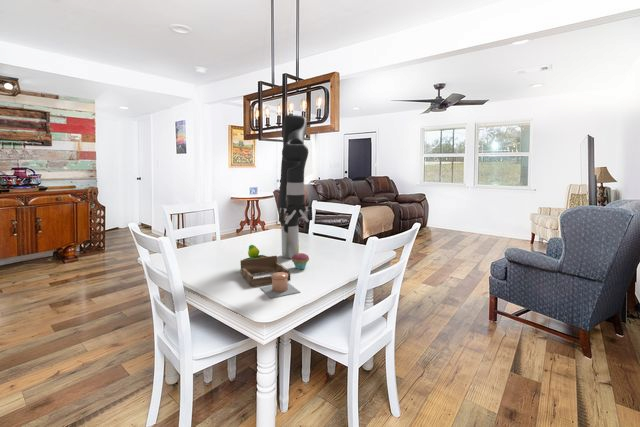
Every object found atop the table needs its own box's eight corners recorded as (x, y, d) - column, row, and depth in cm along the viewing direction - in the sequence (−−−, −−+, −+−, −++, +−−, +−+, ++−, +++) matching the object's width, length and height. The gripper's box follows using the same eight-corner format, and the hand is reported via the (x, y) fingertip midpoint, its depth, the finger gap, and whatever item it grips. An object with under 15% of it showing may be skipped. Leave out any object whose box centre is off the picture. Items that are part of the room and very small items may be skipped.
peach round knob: (269, 288, 134) (268, 273, 133) (284, 285, 137) (284, 271, 136) (275, 293, 128) (274, 278, 127) (291, 290, 131) (290, 275, 130)
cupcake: (288, 269, 160) (288, 244, 159) (296, 264, 168) (295, 241, 166) (305, 271, 157) (304, 246, 155) (312, 266, 165) (311, 242, 163)
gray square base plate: (260, 288, 135) (260, 287, 135) (288, 283, 140) (288, 282, 140) (270, 298, 124) (270, 297, 124) (300, 292, 130) (300, 291, 130)
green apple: (252, 272, 155) (251, 249, 154) (241, 269, 161) (240, 246, 160) (271, 267, 164) (270, 244, 162) (260, 264, 170) (259, 242, 168)
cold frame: (241, 275, 152) (240, 260, 151) (276, 269, 159) (276, 255, 158) (251, 286, 137) (251, 270, 136) (290, 280, 145) (290, 264, 144)
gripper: (307, 191, 145) (307, 228, 148) (276, 193, 139) (277, 231, 142) (315, 193, 138) (315, 231, 141) (282, 195, 132) (283, 235, 135)
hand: (296, 231), depth 141 cm, fingers open, 8 cm apart
